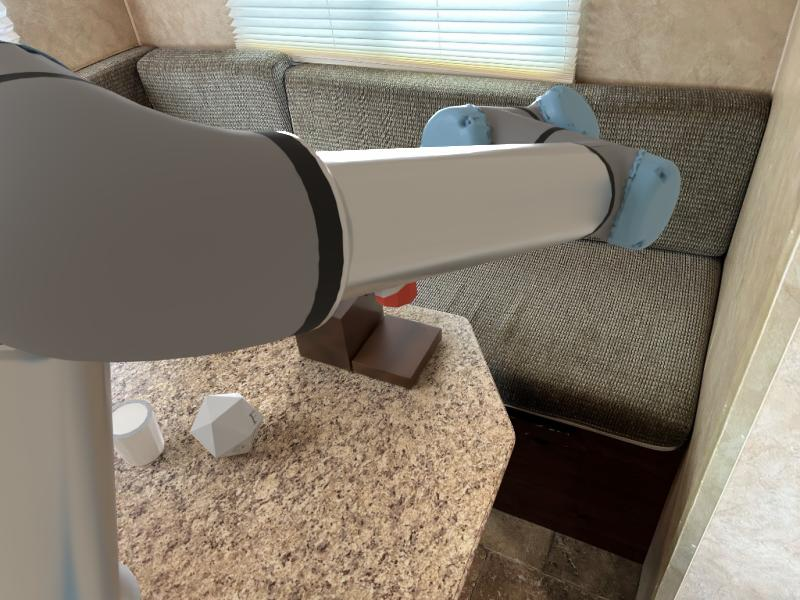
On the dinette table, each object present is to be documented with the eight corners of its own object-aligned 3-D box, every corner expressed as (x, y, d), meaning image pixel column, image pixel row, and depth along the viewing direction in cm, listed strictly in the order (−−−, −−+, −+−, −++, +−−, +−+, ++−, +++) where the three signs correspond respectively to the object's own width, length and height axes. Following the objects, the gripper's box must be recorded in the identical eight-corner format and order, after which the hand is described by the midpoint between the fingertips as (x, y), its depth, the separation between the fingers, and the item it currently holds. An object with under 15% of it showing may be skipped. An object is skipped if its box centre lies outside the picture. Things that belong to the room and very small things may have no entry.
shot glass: (149, 475, 83) (130, 443, 78) (108, 464, 85) (88, 432, 80) (178, 435, 88) (162, 403, 83) (139, 426, 90) (122, 394, 85)
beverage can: (368, 293, 90) (358, 224, 83) (406, 279, 92) (400, 211, 84) (384, 316, 86) (375, 246, 78) (425, 301, 88) (419, 231, 80)
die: (227, 484, 81) (258, 431, 78) (170, 450, 81) (198, 395, 77) (252, 449, 89) (281, 399, 86) (200, 418, 89) (227, 366, 85)
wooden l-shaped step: (300, 356, 98) (286, 304, 91) (337, 311, 106) (327, 260, 100) (411, 390, 91) (406, 336, 84) (442, 338, 99) (439, 286, 92)
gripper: (470, 259, 66) (358, 334, 82) (523, 176, 79) (417, 255, 95) (422, 209, 64) (318, 295, 81) (484, 133, 77) (383, 221, 94)
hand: (372, 273), depth 88 cm, fingers closed on beverage can, 6 cm apart
